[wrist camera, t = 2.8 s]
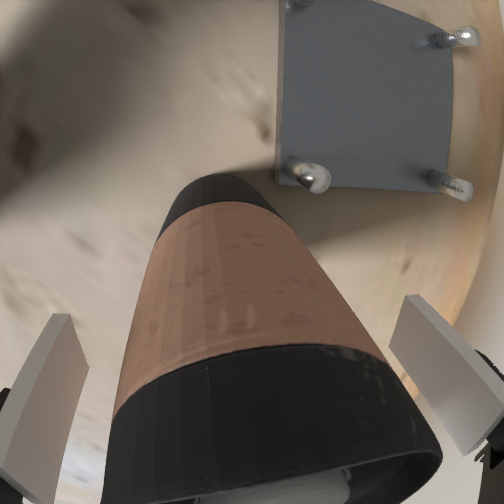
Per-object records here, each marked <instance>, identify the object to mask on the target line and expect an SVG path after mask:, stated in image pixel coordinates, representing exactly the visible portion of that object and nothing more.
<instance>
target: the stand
mask: <svg viewBox="0 0 504 504" xmlns="http://www.w3.org/2000/svg"><path fill="white" fill-rule="evenodd" d="M480 42H481V39H480V35H479V33H478V31H477V30H476V29H475V28H474V27H472V26H470V27H463V28H457V29H452V30H446V31H445V30H443V29H441V28H439V27H436V26H434V25H432V24H430V23H428V22H425V21H423V20H421V19H419V18H416V17H414V16H411V15H409V14H406V13H404V12H401V11H398V10H396V9H393V8H390V7H387V6H385V5H382V4H379V3H376V2H373V1H369V0H280V6H279V55H278V90H277V119H276V145H275V169H274V182H276V183H277V184H278V185H292V186H303V187H304V188H306V189H307V190H309V191H310V192H312V193H315V194H320V193H323V192H325V191H326V190H327V189H328V188H329V186H331V187H355V188H373V189H389V190H403V191H415V192H427V193H437V194H443V193H445V194H448V195H450V196H452V197H455V198H457V199H459V200H461V201H464V202H468V201H470V200H471V198H472V196H473V192H474V188H473V185H472V183H471V182H468V181H466V180H463V179H460V178H457V177H455V176H452V175H449V174H446V168H447V160H448V152H449V142H450V130H451V114H452V48H457V47H466V46H477V45H479V44H480Z"/></svg>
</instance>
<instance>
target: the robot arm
mask: <svg viewBox="0 0 504 504" xmlns="http://www.w3.org/2000/svg"><path fill="white" fill-rule="evenodd" d="M389 348H390V349H391V351H392V352H393V354H394V355H395V356H396V358H397V359H398V360H399V362H400V363H401V365H402V366H403V367H404V369H405V370H406V372H407V373H408V374H409V376H410V377H411V379H412V380H413V382H414V383H415V384H416V386H417V387H418V389H419V390H420V392H421V393H422V394H423V396H424V397H425V399H426V400H427V402H428V403H429V405H430V406H431V408H432V409H433V410H434V412H435V414H436V415H437V417H438V418H439V420H440V421H441V423H442V424H443V426H444V427H445V429H446V430H447V432H448V433H449V435H450V436H451V438H452V439H453V441H454V443H455V444H456V446H457V447H458V449H459V450H460V452H461V454H462V455H463V456H465V455H467V454H469V453H471V452H472V451H474V450H475V449H477V448H478V447H479V446H480V445H481V444H482V442H483V441H484V440H485V439H487V441H488V443H487V444H486V445H485V447H484V448H483V449H482V450H481V451H480V452H479V453H478V454H477V455H476V457H475V460H474V461H477V460H478V459H479V458H480V457H481V456H482V455H483V454H484V456H483V457H482V458H481V460H480V462H483V472H482V480H481V488H480V494H479V499H478V504H504V375H503V374H502V373H500V372H499V370H498V369H497V368H496V366H493V363H492V362H491V361H490V360H489V359H488V358H487V357H486V356H485V355H484V354H482V353H480V352H479V351H477V350H474V349H473V348H472V347H471V346H470V345H469V344H468V343H467V341H465V340H464V338H463V337H462V336H461V335H460V334H459V333H458V332H457V331H456V330H455V329H454V328H453V327H452V326H451V325H450V324H449V323H448V322H447V321H446V320H445V319H444V318H443V317H442V316H441V315H440V314H439V313H438V312H437V311H436V310H435V309H434V308H433V307H432V306H431V305H429V304H428V303H427V302H426V301H425V300H424V299H423V298H422V297H421V296H420V295H419V294H415V295H407V296H405V297H404V301H403V304H402V308H401V311H400V314H399V317H398V320H397V323H396V327H395V330H394V333H393V335H392V338H391V341H390V344H389ZM88 370H89V366H88V364H87V361H86V359H85V356H84V354H83V351H82V348H81V345H80V343H79V340H78V337H77V334H76V331H75V328H74V325H73V322H72V319H71V316H70V314H53V315H52V316H51V318H50V320H49V321H48V323H47V324H46V326H45V328H44V329H43V331H42V333H41V335H40V336H39V338H38V340H37V341H36V343H35V345H34V347H33V348H32V350H31V352H30V354H29V356H28V357H27V359H26V361H25V363H24V365H23V367H22V369H21V371H20V372H19V374H18V376H17V378H16V380H15V382H14V384H13V386H12V388H11V389H9V388H4V389H3V390H2V391H1V392H0V504H23V503H22V499H23V496H24V497H25V498H26V499H28V500H29V501H30V502H32V503H33V504H54V499H55V493H56V488H57V483H58V478H59V473H60V469H61V464H62V460H63V456H64V451H65V447H66V443H67V440H68V436H69V432H70V428H71V425H72V421H73V418H74V414H75V411H76V407H77V404H78V401H79V398H80V394H81V391H82V388H83V385H84V382H85V379H86V376H87V373H88Z"/></svg>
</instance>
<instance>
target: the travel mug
mask: <svg viewBox="0 0 504 504" xmlns="http://www.w3.org/2000/svg"><path fill="white" fill-rule="evenodd" d="M442 459H443V453H442V450H441V447H440V444H439V442H438V440H437V438H436V437H435V434H434V433H433V431H432V429H431V428H430V426H429V424H428V423H427V421H426V420H425V418H424V416H423V415H422V413H421V412H420V410H419V409H418V407H417V405H416V404H415V402H414V401H413V399H412V398H411V396H410V395H409V393H408V391H407V390H406V388H405V387H404V385H403V384H402V382H401V381H400V379H399V378H398V376H397V375H396V373H395V372H394V371H393V369H392V367H391V366H390V364H389V363H388V361H387V360H386V358H385V357H384V355H383V354H382V352H381V351H380V349H379V348H378V347H377V345H376V344H375V342H374V341H373V339H372V338H371V336H370V335H369V333H368V332H367V331H366V329H365V328H364V326H363V325H362V323H361V322H360V321H359V319H358V318H357V316H356V315H355V313H354V312H353V311H352V309H351V308H350V306H349V305H348V304H347V302H346V301H345V299H344V298H343V297H342V295H341V294H340V292H339V291H338V290H337V288H336V287H335V286H334V284H333V283H332V281H331V280H330V279H329V277H328V276H327V275H326V273H325V272H324V271H323V269H322V268H321V266H320V265H319V264H318V262H317V261H316V260H315V258H314V257H313V256H312V254H311V253H310V252H309V250H308V249H307V248H306V246H305V245H304V244H303V242H302V241H301V240H300V238H299V237H298V236H297V235H296V233H295V232H294V231H293V229H292V228H291V227H290V226H289V225H288V224H287V223H286V222H285V221H284V220H283V218H282V217H281V216H280V215H279V214H278V213H277V212H276V211H275V210H274V209H273V208H272V207H271V206H270V205H269V204H268V203H267V201H266V200H265V199H264V198H263V197H262V196H261V195H260V194H259V193H258V192H257V191H256V190H255V189H254V188H253V187H252V186H250V185H249V184H248V183H246V182H244V181H243V180H241V179H239V178H236V177H233V176H229V175H209V176H205V177H202V178H199V179H197V180H195V181H193V182H192V183H190V184H189V185H187V186H186V187H185V188H184V189H183V190H182V191H181V192H180V193H179V195H178V196H177V197H176V199H175V201H174V203H173V205H172V207H171V209H170V211H169V213H168V215H167V217H166V220H165V222H164V224H163V227H162V229H161V231H160V233H159V236H158V238H157V240H156V243H155V245H154V248H153V250H152V253H151V256H150V259H149V262H148V266H147V269H146V273H145V276H144V280H143V283H142V287H141V290H140V294H139V298H138V301H137V305H136V309H135V313H134V317H133V321H132V325H131V329H130V333H129V337H128V341H127V346H126V350H125V354H124V359H123V364H122V368H121V373H120V378H119V383H118V388H117V394H116V399H115V405H114V411H113V417H112V423H111V430H110V436H109V443H108V450H107V458H106V466H105V476H104V485H103V492H102V498H101V503H100V504H400V503H402V502H403V501H405V500H406V499H407V498H408V497H410V496H411V495H413V494H414V493H415V492H417V491H418V490H419V489H420V488H421V487H422V486H424V485H425V484H426V483H427V482H428V481H429V480H430V479H431V478H432V477H433V475H434V474H435V473H436V471H437V470H438V468H439V467H440V465H441V463H442Z"/></svg>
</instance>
